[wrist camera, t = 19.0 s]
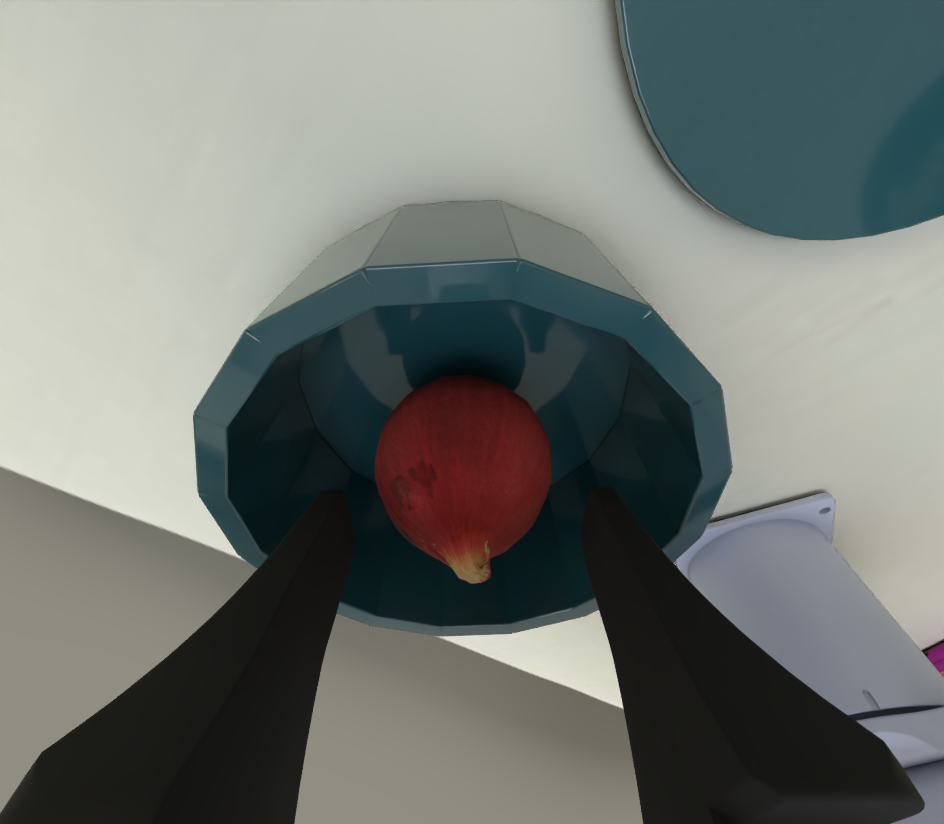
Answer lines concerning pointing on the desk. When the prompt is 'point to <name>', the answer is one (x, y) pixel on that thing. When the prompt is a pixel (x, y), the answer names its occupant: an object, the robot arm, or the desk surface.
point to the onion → (463, 471)
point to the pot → (449, 354)
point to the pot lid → (796, 108)
